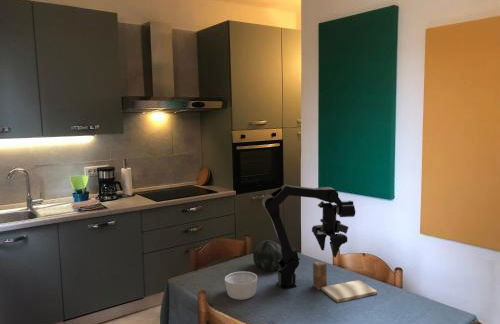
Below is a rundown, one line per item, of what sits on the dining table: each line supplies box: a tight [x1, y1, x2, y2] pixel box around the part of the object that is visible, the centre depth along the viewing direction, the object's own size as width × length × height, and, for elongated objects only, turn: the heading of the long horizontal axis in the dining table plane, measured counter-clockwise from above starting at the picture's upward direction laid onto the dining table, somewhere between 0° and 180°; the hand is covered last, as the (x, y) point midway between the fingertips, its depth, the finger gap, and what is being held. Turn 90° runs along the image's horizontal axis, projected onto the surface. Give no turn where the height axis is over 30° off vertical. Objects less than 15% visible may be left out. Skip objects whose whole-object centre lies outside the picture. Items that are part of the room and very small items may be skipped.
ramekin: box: [224, 271, 258, 301], centre depth 162 cm, size 13×13×7 cm
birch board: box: [321, 279, 378, 303], centre depth 161 cm, size 18×12×1 cm, turn 110°
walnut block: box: [312, 260, 328, 291], centre depth 166 cm, size 4×4×10 cm
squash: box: [252, 239, 282, 272], centre depth 189 cm, size 14×15×15 cm
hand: (328, 253), depth 170 cm, fingers open, 9 cm apart
